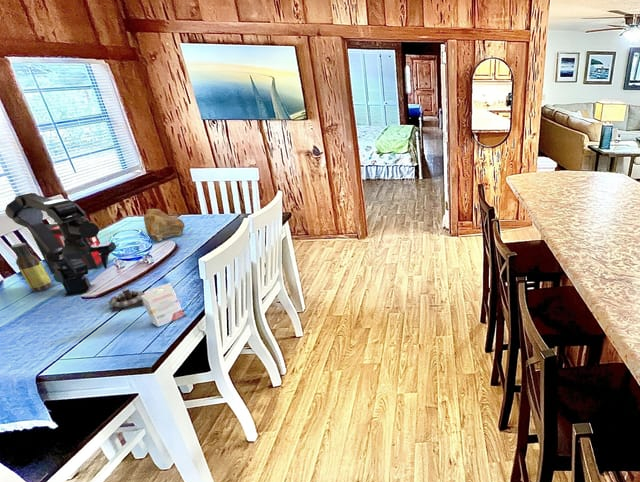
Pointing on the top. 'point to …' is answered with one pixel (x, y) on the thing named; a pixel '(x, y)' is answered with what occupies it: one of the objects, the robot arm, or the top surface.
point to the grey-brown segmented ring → (114, 300)
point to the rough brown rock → (162, 225)
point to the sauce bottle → (31, 268)
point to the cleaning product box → (89, 258)
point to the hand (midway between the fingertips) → (90, 270)
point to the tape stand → (127, 297)
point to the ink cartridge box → (162, 305)
